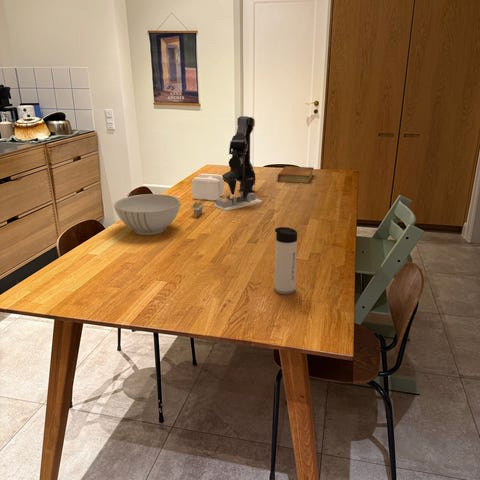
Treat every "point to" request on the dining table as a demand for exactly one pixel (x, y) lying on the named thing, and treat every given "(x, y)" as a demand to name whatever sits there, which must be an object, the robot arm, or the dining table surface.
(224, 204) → the board
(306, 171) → the diary
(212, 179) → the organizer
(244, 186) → the robot arm
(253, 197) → the grey brown bar
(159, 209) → the decorative bowl
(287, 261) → the travel mug
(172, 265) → the dining table surface
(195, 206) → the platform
